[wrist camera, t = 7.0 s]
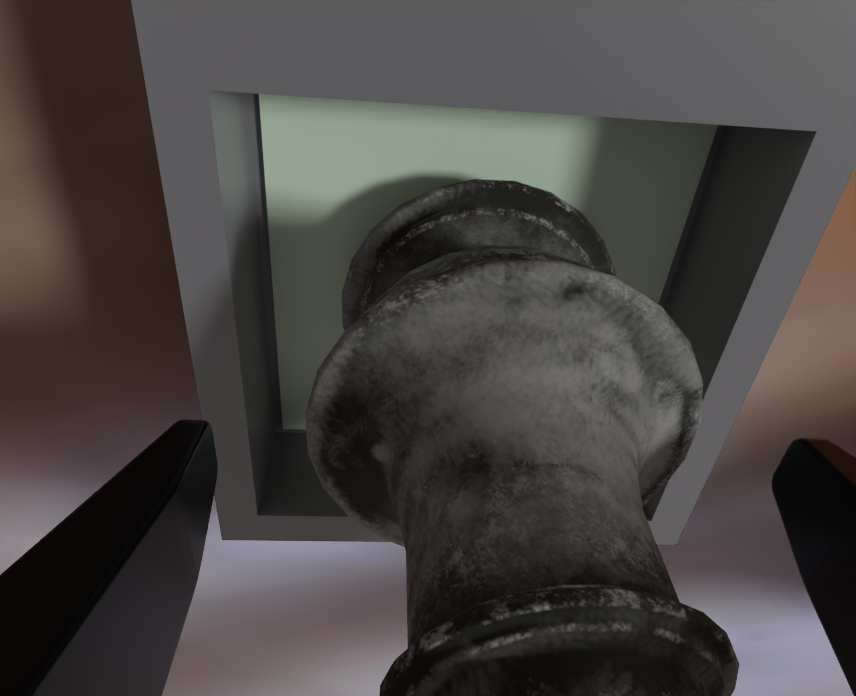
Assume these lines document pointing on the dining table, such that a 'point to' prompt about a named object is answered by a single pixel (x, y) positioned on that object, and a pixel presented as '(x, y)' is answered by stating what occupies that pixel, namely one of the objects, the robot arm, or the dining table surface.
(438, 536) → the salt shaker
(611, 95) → the socket strip
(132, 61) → the dining table surface
